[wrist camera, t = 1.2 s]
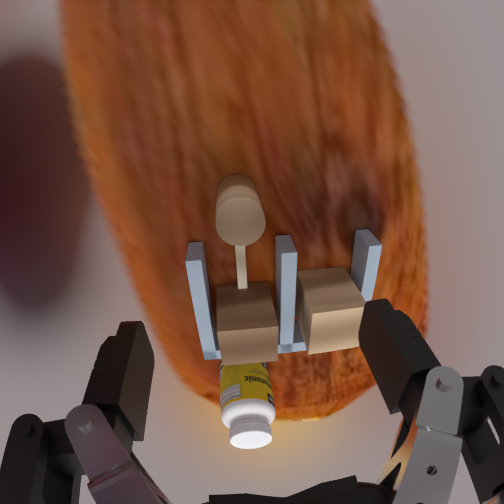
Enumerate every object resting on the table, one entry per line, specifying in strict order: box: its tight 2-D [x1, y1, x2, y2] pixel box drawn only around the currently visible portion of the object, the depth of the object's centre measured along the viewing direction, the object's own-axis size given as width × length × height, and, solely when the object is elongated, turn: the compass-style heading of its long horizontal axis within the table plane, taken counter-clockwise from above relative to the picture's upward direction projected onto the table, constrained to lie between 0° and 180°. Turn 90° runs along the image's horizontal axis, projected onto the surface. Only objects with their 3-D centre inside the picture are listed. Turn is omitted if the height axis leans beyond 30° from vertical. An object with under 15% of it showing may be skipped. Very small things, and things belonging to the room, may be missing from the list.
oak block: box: [295, 266, 366, 354], centre depth 27 cm, size 5×5×6 cm
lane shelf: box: [185, 229, 382, 360], centre depth 27 cm, size 11×16×3 cm
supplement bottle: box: [220, 362, 275, 449], centre depth 29 cm, size 5×5×10 cm
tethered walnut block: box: [216, 174, 278, 365], centre depth 24 cm, size 14×5×6 cm, turn 2°
